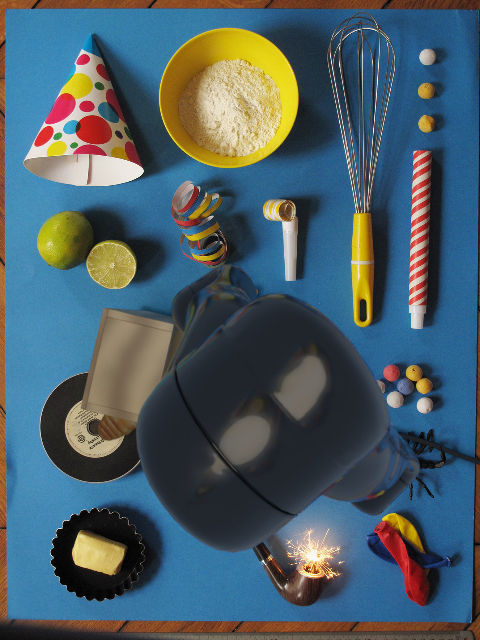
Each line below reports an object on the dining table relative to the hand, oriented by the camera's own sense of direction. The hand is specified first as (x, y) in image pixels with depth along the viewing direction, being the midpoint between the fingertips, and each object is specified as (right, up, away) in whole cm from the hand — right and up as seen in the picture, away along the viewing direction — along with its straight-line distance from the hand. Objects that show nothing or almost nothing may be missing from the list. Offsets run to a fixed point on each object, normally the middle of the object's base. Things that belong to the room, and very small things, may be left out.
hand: (228, 308), depth 84 cm
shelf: (-13, -9, +1) cm, 16 cm away
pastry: (-22, -23, +2) cm, 31 cm away
